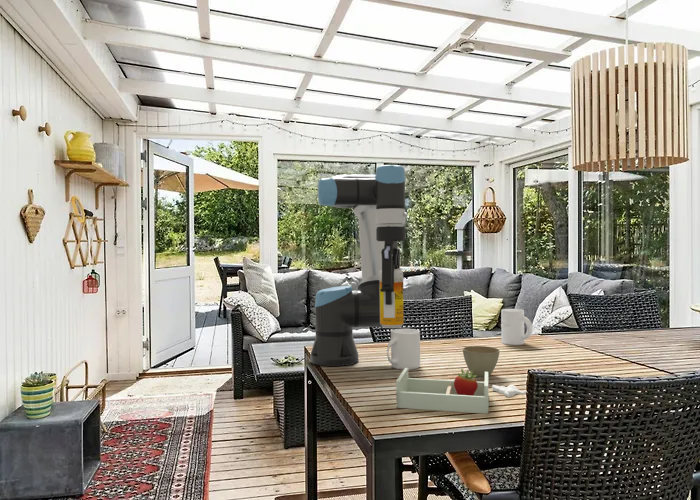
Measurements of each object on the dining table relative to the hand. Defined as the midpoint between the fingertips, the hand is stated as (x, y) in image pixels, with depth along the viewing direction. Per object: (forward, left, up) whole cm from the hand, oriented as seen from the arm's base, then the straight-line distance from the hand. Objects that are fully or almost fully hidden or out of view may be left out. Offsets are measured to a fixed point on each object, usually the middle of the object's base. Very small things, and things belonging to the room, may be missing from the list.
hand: (391, 315), depth 138 cm
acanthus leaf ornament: (+29, +1, -19) cm, 35 cm away
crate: (+14, -11, -18) cm, 26 cm away
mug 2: (+34, +66, -19) cm, 76 cm away
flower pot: (+22, +17, -19) cm, 33 cm away
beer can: (0, 0, -3) cm, 3 cm away
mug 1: (-1, +21, -19) cm, 28 cm away
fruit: (+19, -11, -18) cm, 29 cm away
